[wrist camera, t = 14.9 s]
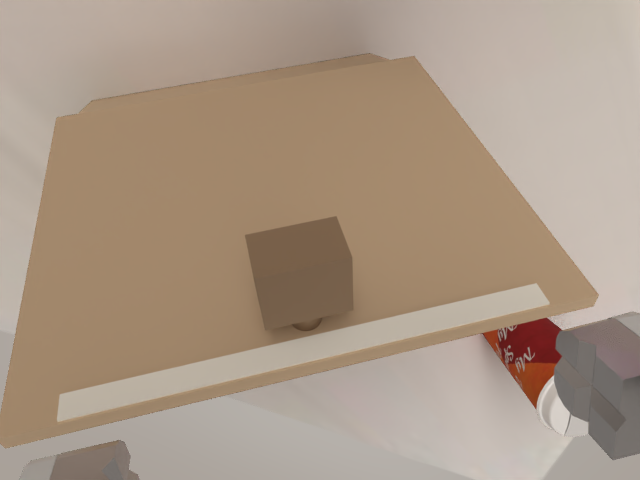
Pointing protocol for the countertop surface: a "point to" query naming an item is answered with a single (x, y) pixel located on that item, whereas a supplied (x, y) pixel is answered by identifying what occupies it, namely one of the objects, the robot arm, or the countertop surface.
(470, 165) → the lid flap
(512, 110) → the countertop surface
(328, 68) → the carton
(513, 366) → the paper cup
